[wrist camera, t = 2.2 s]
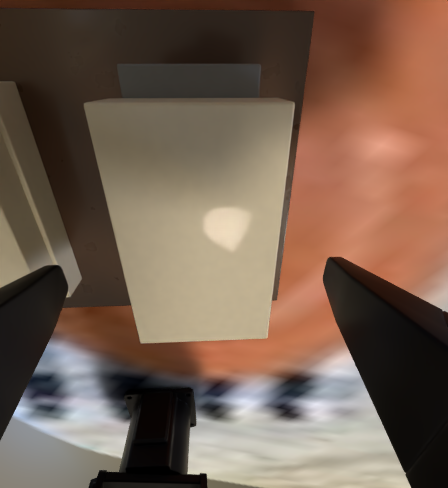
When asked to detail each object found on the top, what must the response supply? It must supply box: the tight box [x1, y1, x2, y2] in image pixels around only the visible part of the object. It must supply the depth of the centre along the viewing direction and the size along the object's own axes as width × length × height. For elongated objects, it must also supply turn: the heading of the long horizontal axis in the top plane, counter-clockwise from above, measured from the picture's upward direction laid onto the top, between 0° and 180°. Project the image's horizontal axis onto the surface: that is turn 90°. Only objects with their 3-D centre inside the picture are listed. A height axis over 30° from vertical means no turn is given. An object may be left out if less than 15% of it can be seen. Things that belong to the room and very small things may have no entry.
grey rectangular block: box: [117, 64, 261, 98], centre depth 14 cm, size 12×5×4 cm, turn 0°
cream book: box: [84, 98, 295, 343], centre depth 11 cm, size 10×6×2 cm, turn 0°
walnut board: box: [0, 8, 315, 308], centre depth 15 cm, size 16×22×1 cm
